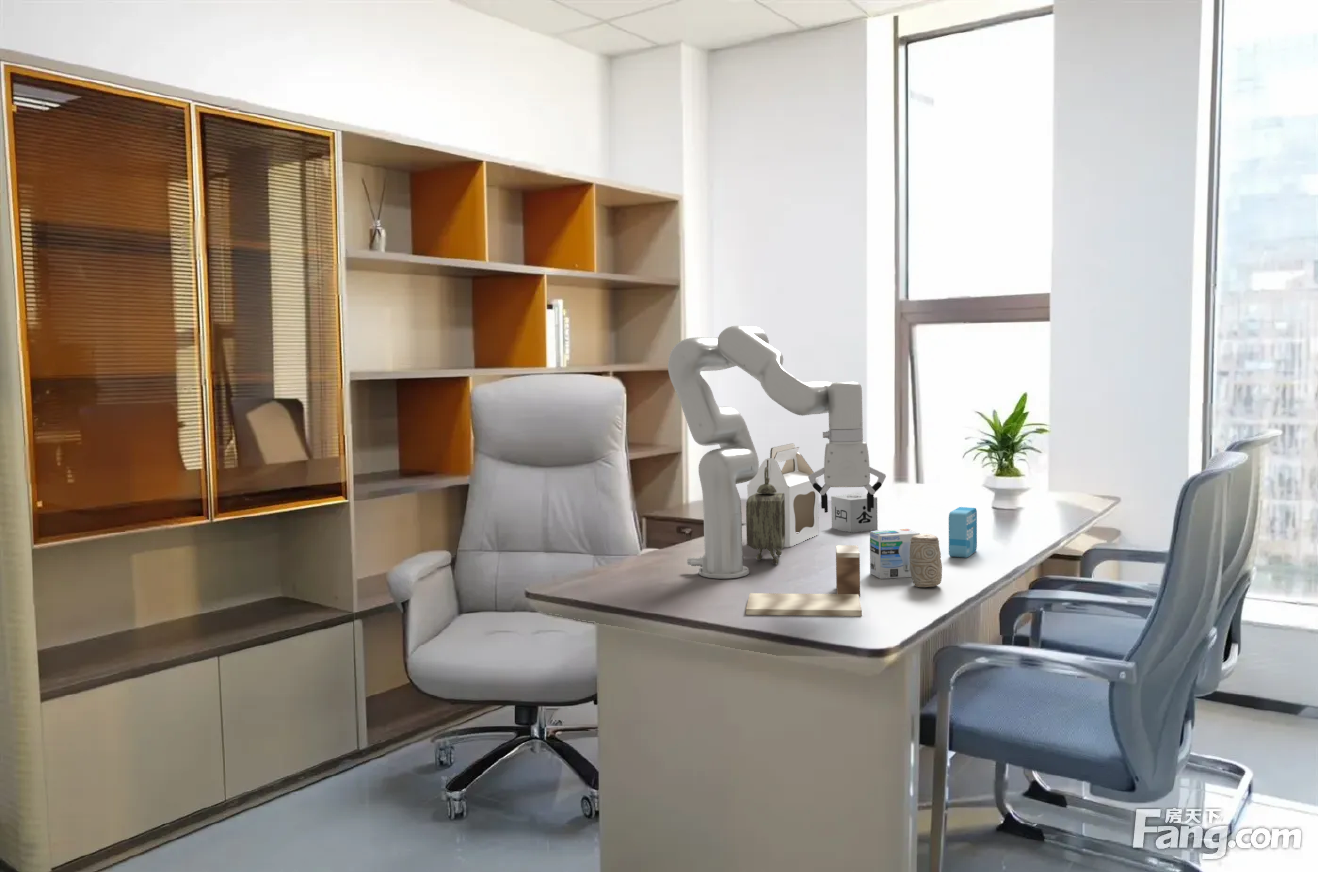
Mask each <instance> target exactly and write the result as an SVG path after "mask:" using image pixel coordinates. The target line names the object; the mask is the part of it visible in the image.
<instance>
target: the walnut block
mask: <svg viewBox="0 0 1318 872" xmlns="http://www.w3.org/2000/svg"><path fill="white" fill-rule="evenodd" d="M860 555H861V553H860V549H859V545H851V544H849V545H845V544H844V545H843V544H842V545H841V544H838V545H837V544H836V545H835V570H836V571H835V572H836V573H835V576H836V577H835V579H836V580H835V581H836V585H835V587H836V594H858V595H859V596H860V597H861V564H860V563H861V562H860V561H861V559H860V558H861V556H860Z"/></svg>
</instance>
